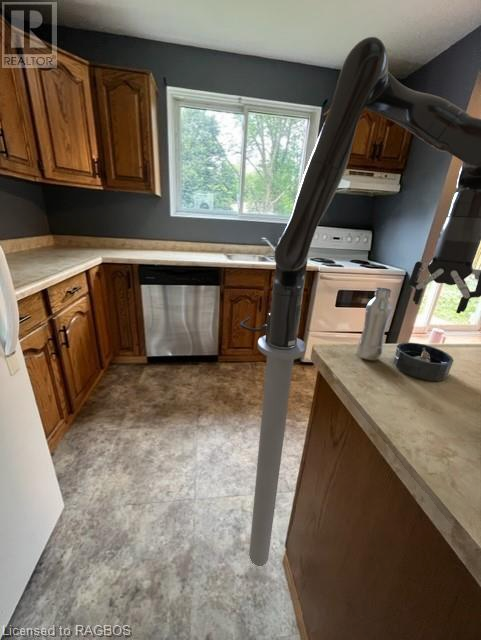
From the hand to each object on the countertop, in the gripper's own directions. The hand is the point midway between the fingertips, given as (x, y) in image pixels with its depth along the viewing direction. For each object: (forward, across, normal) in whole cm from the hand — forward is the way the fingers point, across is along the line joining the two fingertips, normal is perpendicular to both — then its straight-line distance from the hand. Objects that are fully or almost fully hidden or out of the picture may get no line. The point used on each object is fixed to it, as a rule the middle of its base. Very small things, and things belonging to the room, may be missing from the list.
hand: (436, 308), depth 66 cm
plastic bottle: (+18, +12, +4) cm, 21 cm away
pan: (+17, 0, 0) cm, 17 cm away
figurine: (+17, 0, 0) cm, 17 cm away
